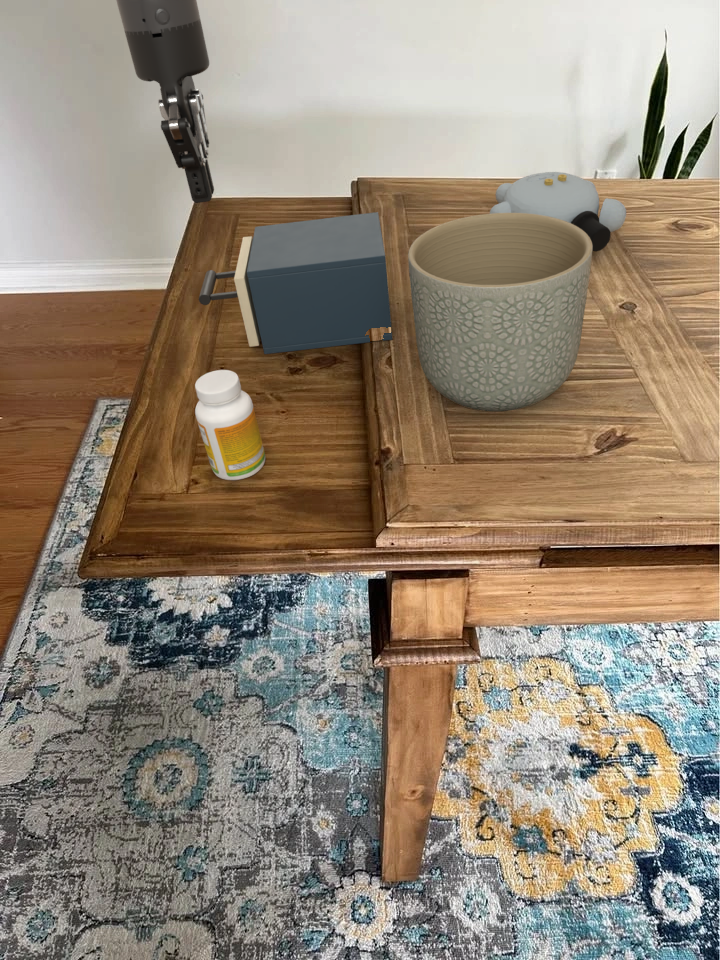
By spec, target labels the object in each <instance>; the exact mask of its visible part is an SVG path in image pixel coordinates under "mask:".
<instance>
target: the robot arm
mask: <svg viewBox="0 0 720 960" xmlns="http://www.w3.org/2000/svg"><path fill="white" fill-rule="evenodd" d="M115 1H116V5H117V9H118V12H119V16H120V19H121V20H120V21H121V23H122V26H123V27H122V28H123V30H124V34H125V38H126V42H127V46H128V49H129V53H130V56H131V60H132V64H133V68H134V71H135V75H136V77H137V78H138V79H139V80H141V81H143V82H156V83H157V84H159V87H160V95H161V98H159V99H158V108H159V111H160V115H161V117H162V119H163V120H161V121H160V130H161V131H162V133H163V135H164V138H165V139H166V142H167V145H168V147H169V150H170V152H171V154H172V157H173V159H174V161H175V164H176V167H177V168H178V169H182V170H184V173H185V177H186V180H187V185H188V189H189V193H190V197H191V200H192V201H193V203H195V204H197V203H198V204H200V203H207V202H210V201H211V200H212V198H213V194H214V192H215V187H214V182H213V178H212V174H211V170H210V165H209V161H208V159H209V155H210V153H209V149H208V148H209V147H210V139H209V136H208V127H207V121H206V115H205V106H204V95H203V94H202V91H201V89H200V88H197V89H196V87H195V82H194V79H193V76H197V75H199V74H202V73H204V72H206V71H207V70H208V68H209V66H210V59H209V53H208V48H207V44H206V40H205V34H204V29H203V25H202V20H201V15H200V11H199V6H198V1H197V0H115Z"/></svg>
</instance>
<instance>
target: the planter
mask: <svg viewBox="0 0 720 960" xmlns="http://www.w3.org/2000/svg"><path fill="white" fill-rule="evenodd" d="M592 249H593V245H592V241H591V239H590V237H589V236H588V235H587V234H586V233H585V232H584V231H583V230H582V229H580V228H579V227H577V226H575V225H573V224H571V223H569V222H566V221H564V220H561V219H557V218H553V217H549V216H544V215H537V214H528V213H492V214H490V213H484V214H483V213H482V214H475V215H471V216H465V217H460V218H457V219H452V220H450V221H446V222H443V223H441V224H439V225H437V226H434V227H432V228H430V229H428V230H427V231H425V232H423V233H422V234H421V235H419V236H418V237H417V238H415V240H414V241H412V243H411V245H410V246H409V249H408V253H407V254H408V255H407V257H408V259H407V261H408V274H409V275H408V276H409V284H410V285H409V286H410V295H411V304H412V311H413V312H412V313H413V321H414V332H415V343H416V349H417V354H418V355H417V356H418V361H419V365H420V368H421V370H422V372H423V375H424V376H425V378H426V379H427V381H428V382H429V384H430V385H431V386H432V387H433V389H435V390H436V391H437V392H438V393H439V394H441V395H442V396H443V397H445V398H446V399H448V400H449V401H451V402H453V403H455V404H457V405H459V406H461V407H464V408H467V409H472V410H475V411H480V412H481V411H482V412H490V413H491V412H492V413H493V412H494V413H501V412H511V411H517V410H521V409H523V408H524V409H525V408H527V407H530V406H533V405H535V404H537V403H539V402H541V401H543V400H545V399H546V398H548V397H550V396H551V395H552V394H554V393H555V392H556V391H557V390H559V389H560V388H561V387H562V386H563V385H564V384H565V382H566V381H567V380H568V378H569V377H570V375H571V373H572V372H573V370H574V367H575V366H576V362H577V359H578V354H579V350H580V345H581V340H582V333H583V325H584V318H585V311H586V305H587V298H588V292H589V291H588V290H589V284H590V275H591V268H592V261H593V259H592V258H593V251H592Z"/></svg>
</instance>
